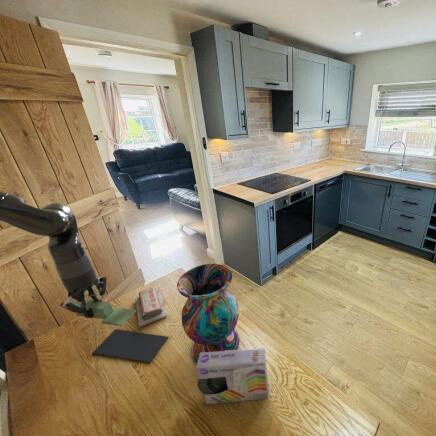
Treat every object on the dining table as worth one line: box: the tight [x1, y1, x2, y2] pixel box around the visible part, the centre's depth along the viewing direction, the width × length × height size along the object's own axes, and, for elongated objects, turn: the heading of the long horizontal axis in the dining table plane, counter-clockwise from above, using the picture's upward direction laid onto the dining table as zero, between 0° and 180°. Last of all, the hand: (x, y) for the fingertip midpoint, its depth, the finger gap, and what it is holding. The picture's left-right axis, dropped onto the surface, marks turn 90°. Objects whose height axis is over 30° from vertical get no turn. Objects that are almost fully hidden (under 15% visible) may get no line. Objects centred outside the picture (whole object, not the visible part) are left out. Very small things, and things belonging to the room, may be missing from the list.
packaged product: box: [134, 287, 168, 328], centre depth 101 cm, size 18×5×10 cm
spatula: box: [74, 299, 137, 327], centre depth 76 cm, size 18×6×4 cm, turn 82°
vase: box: [176, 263, 240, 363], centre depth 80 cm, size 18×18×30 cm
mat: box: [91, 328, 169, 364], centre depth 86 cm, size 22×10×1 cm, turn 82°
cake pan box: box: [195, 347, 269, 405], centre depth 68 cm, size 19×5×18 cm, turn 94°
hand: (95, 312), depth 77 cm, fingers closed on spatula, 3 cm apart
